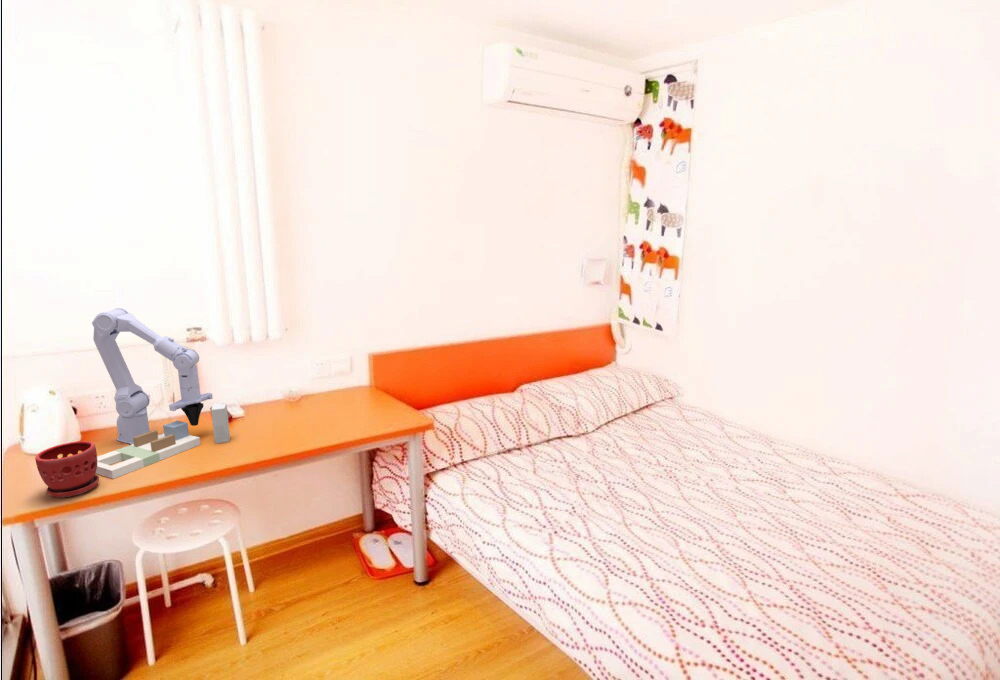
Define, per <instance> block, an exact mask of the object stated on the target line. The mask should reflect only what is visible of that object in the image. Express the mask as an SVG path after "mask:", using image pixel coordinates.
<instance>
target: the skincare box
mask: <svg viewBox="0 0 1000 680" xmlns="http://www.w3.org/2000/svg"><path fill="white" fill-rule="evenodd" d="M210 413H211V421H212V428H213V438H214V444H221V443H222V444H224V443H229V441H230V437H231V433H230V431H231V430H230V425H229V415H228V406H227V403H226V402H225V403H223V402H222V403H213V404H212V406H211V411H210Z"/></svg>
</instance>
